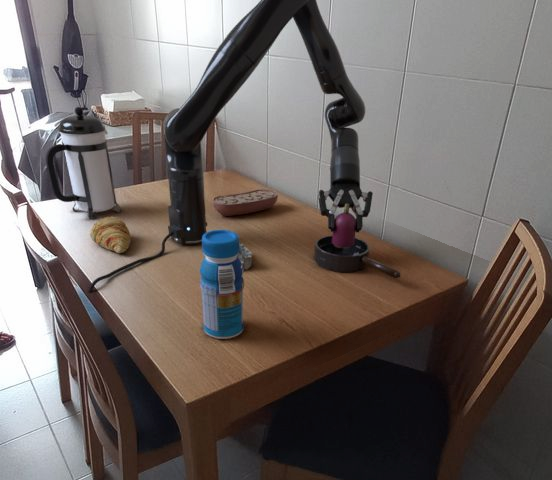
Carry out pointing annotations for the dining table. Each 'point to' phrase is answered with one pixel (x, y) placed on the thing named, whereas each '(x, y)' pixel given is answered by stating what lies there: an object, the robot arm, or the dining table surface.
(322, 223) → the dining table surface
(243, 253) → the grey irregular chunk
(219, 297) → the beverage bottle
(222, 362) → the dining table surface
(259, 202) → the anatomical model
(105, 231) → the croissant
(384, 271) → the pan handle
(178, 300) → the dining table surface
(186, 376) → the dining table surface
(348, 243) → the purple eggplant
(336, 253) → the pan
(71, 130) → the coffee press
